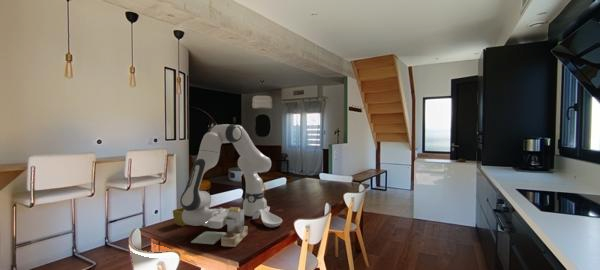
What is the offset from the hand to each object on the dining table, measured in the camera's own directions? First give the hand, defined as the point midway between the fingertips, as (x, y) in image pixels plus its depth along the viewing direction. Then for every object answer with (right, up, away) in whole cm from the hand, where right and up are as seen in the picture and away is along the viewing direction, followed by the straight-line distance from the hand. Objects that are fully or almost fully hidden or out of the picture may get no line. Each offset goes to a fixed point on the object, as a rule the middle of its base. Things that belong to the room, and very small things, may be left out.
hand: (237, 219), depth 141 cm
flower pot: (-37, -10, +21) cm, 44 cm away
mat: (-15, -10, +1) cm, 18 cm away
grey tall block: (-1, -5, 0) cm, 6 cm away
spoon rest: (+12, -10, +24) cm, 28 cm away
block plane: (-1, -10, -1) cm, 10 cm away
